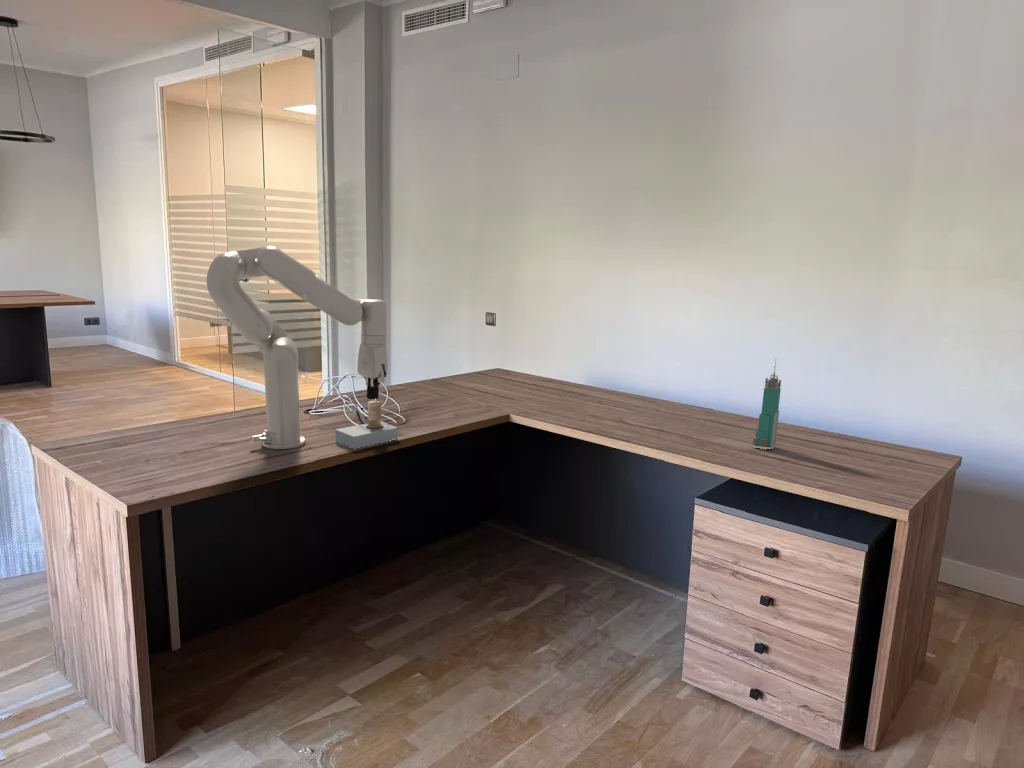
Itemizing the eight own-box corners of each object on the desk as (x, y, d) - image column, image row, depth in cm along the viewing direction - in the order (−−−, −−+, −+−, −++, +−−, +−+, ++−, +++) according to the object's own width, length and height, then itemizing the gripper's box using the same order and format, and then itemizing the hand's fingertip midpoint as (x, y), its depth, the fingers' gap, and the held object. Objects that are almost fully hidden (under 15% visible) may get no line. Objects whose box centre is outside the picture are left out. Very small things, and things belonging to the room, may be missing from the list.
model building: (366, 415, 261) (375, 434, 238) (353, 402, 258) (360, 421, 235) (380, 401, 261) (390, 419, 238) (367, 388, 259) (375, 405, 236)
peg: (373, 441, 219) (372, 404, 216) (365, 439, 222) (365, 401, 219) (384, 439, 222) (383, 402, 219) (376, 436, 225) (376, 400, 222)
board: (353, 449, 211) (353, 436, 210) (335, 442, 217) (335, 429, 217) (397, 439, 222) (397, 427, 221) (379, 433, 229) (379, 421, 228)
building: (770, 451, 223) (781, 358, 217) (751, 448, 226) (761, 356, 220) (775, 447, 228) (785, 355, 222) (756, 443, 231) (765, 353, 225)
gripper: (349, 337, 218) (348, 395, 221) (377, 344, 207) (376, 404, 211) (370, 336, 223) (369, 392, 227) (398, 342, 213) (396, 401, 216)
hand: (372, 398), depth 219 cm, fingers closed
